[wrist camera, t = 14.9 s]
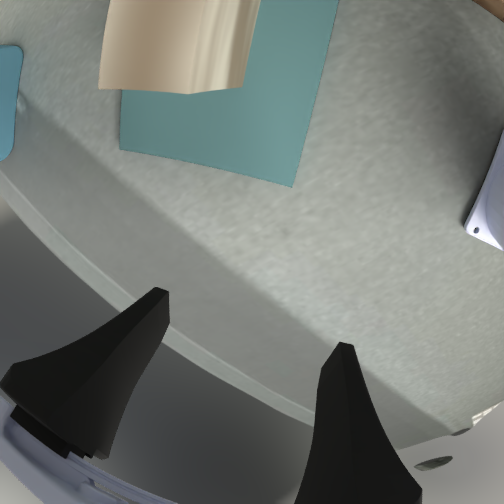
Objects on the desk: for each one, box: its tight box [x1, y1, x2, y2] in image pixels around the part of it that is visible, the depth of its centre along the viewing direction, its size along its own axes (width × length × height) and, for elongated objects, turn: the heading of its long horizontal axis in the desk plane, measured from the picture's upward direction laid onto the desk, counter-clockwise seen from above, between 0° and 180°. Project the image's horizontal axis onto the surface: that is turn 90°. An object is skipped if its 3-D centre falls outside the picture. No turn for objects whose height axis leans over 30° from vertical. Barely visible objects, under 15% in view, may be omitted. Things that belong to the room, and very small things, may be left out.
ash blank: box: [98, 0, 261, 94], centre depth 9 cm, size 4×6×7 cm, turn 170°
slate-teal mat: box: [119, 0, 339, 188], centre depth 13 cm, size 12×16×1 cm
